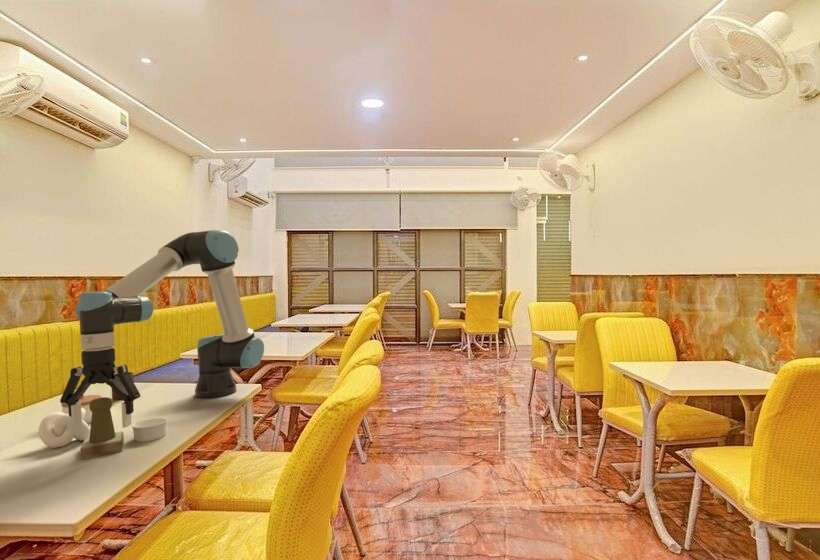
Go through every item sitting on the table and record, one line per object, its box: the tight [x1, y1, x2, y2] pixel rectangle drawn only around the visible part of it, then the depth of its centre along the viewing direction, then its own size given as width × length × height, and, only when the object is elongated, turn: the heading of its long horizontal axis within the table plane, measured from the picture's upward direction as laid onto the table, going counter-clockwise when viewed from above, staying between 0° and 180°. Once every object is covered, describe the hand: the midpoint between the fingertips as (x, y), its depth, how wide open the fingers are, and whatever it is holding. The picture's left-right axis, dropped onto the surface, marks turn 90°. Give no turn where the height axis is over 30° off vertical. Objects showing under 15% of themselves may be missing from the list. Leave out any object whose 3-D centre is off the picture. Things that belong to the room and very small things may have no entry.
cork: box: [89, 396, 116, 443], centre depth 123 cm, size 6×6×11 cm
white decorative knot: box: [38, 408, 91, 449], centre depth 130 cm, size 11×12×9 cm
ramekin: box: [131, 417, 168, 443], centre depth 132 cm, size 9×9×4 cm
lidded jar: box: [60, 393, 102, 425], centre depth 149 cm, size 11×11×9 cm
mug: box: [110, 371, 135, 401], centre depth 179 cm, size 12×8×9 cm, turn 29°
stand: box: [80, 430, 125, 460], centre depth 123 cm, size 9×9×3 cm
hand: (102, 427), depth 123 cm, fingers open, 13 cm apart
